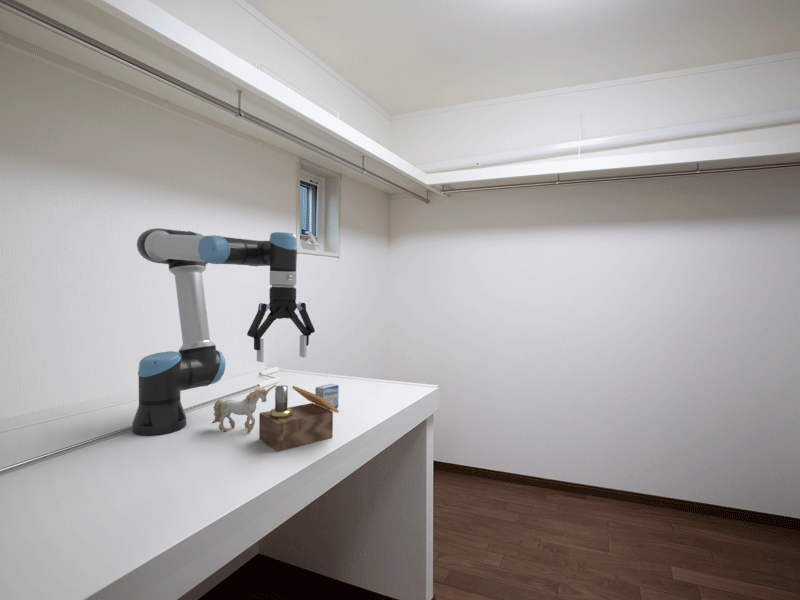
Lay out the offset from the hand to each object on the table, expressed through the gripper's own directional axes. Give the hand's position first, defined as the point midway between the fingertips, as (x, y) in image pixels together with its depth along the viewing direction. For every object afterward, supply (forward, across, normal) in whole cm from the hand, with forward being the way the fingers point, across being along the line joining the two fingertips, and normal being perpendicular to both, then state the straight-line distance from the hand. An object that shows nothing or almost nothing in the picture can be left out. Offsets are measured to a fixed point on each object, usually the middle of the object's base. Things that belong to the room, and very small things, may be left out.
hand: (282, 359), depth 129 cm
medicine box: (+25, +29, +21) cm, 44 cm away
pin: (+24, 0, 0) cm, 24 cm away
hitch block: (+25, +5, 0) cm, 25 cm away
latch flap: (+14, +11, 0) cm, 18 cm away
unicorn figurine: (+25, -3, +19) cm, 31 cm away
